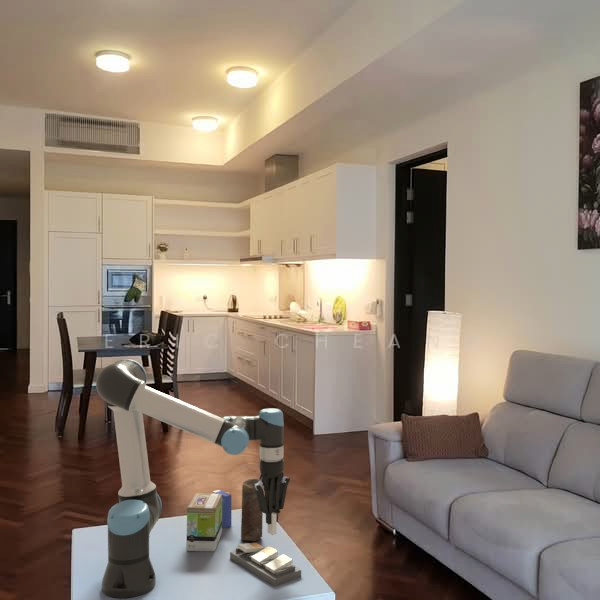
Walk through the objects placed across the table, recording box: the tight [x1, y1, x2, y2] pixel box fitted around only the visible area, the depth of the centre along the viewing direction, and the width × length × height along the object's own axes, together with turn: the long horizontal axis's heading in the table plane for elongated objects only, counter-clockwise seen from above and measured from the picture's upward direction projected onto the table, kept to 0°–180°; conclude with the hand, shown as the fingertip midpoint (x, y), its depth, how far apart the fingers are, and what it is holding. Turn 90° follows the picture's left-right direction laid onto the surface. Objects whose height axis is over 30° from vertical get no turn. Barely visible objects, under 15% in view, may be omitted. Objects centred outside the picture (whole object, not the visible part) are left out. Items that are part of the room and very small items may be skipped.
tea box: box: [185, 492, 223, 552], centre depth 216 cm, size 15×10×15 cm
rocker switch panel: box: [229, 547, 302, 587], centre depth 197 cm, size 10×24×3 cm, turn 39°
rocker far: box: [237, 542, 265, 553], centre depth 203 cm, size 7×5×1 cm, turn 129°
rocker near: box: [265, 553, 294, 574], centre depth 191 cm, size 7×5×1 cm, turn 129°
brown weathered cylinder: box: [240, 478, 264, 542], centre depth 218 cm, size 8×7×20 cm
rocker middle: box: [251, 546, 279, 565], centre depth 197 cm, size 7×5×1 cm, turn 129°
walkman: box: [212, 489, 233, 529], centre depth 232 cm, size 8×3×12 cm, turn 46°
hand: (272, 533), depth 199 cm, fingers closed
